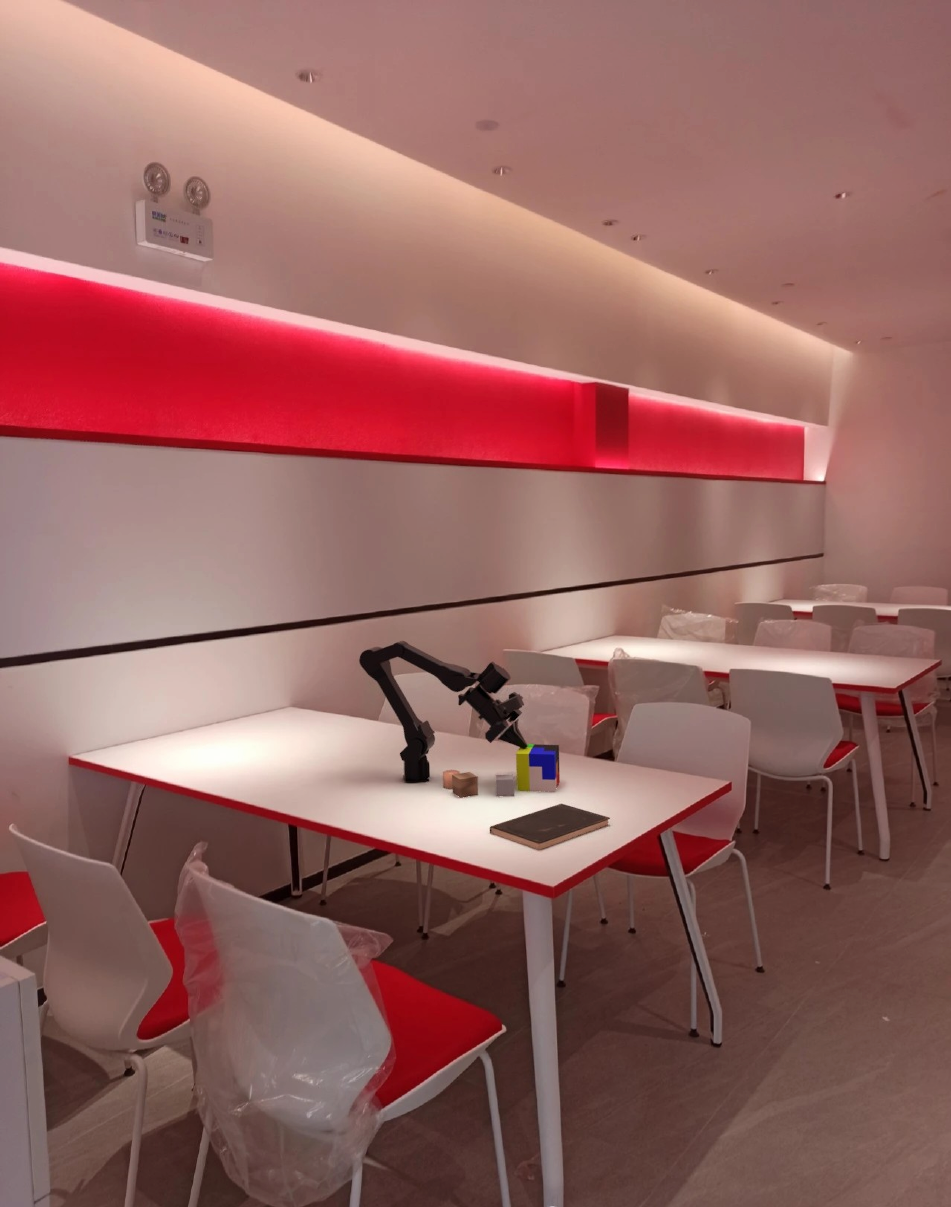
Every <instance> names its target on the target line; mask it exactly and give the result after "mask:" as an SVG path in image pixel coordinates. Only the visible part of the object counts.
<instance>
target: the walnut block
mask: <svg viewBox="0 0 951 1207" xmlns="http://www.w3.org/2000/svg"><path fill="white" fill-rule="evenodd" d="M478 781H479V778H478V776H477V775H476V774H474V773H472V772H471V771H466V772H459V774H453V775H452V789H451V790H452V794H453V795H455V796H456V797H458V796H459V797H458V798H459V799H462V798H463V797H464V798H468V796H470V797H475V796H479V782H478ZM464 798H463V799H464Z"/></svg>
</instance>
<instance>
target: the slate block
mask: <svg viewBox="0 0 951 1207" xmlns="http://www.w3.org/2000/svg"><path fill="white" fill-rule="evenodd" d="M514 782H515V781H514V774H495V794H496V796H503V797H515V785H514Z"/></svg>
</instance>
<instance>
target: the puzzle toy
mask: <svg viewBox="0 0 951 1207" xmlns="http://www.w3.org/2000/svg"><path fill="white" fill-rule="evenodd" d="M527 745H528V746H527V748H526V749H523V748H521V747H519V748H518V750H517V751H516V753H515V756H516V757H515V760H516V763H515V764H516V767H515V768H516V791H517V792H535V791H538V792H537V793H541V792H543V793H556V791H557V789H558V786H559V783H560V781H561V780H560V745H559V744H534V743H532V744H530V743H529V744H528V743H527ZM556 788H557V789H556ZM539 791H541V792H539ZM544 791H545V792H544ZM548 791H549V792H548Z"/></svg>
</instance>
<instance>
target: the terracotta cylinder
mask: <svg viewBox="0 0 951 1207" xmlns="http://www.w3.org/2000/svg"><path fill="white" fill-rule="evenodd" d="M459 773H460V770H456V769H447V770H444V771H442V787H443V788H444V789H445V788H446V789H445V790H453V789H452V775H453V774H459Z"/></svg>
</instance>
